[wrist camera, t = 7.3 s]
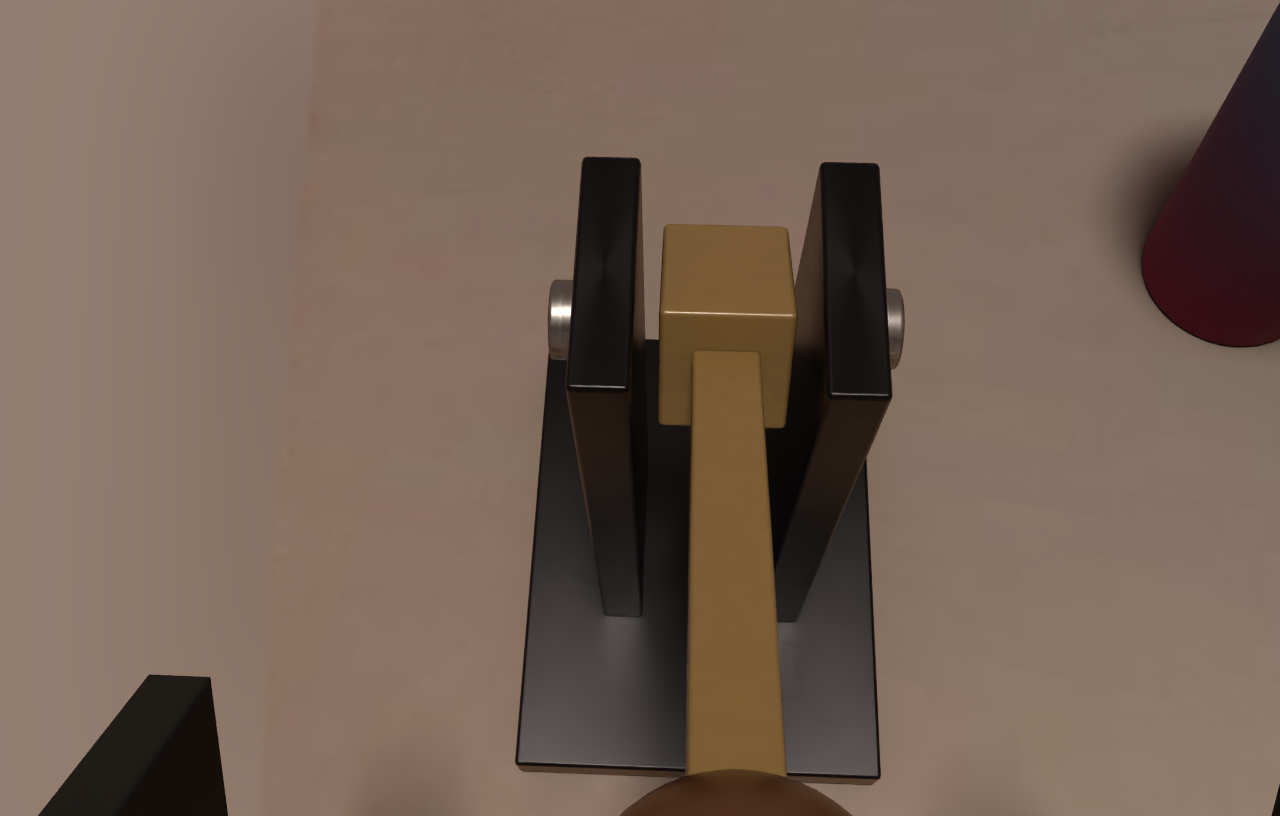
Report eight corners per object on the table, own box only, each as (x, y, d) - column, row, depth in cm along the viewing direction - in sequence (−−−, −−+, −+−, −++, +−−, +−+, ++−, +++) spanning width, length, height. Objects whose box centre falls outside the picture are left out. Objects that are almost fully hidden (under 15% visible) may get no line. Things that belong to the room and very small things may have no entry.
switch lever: (916, 1235, 11) (988, 1088, 9) (549, 1217, 11) (529, 1067, 9) (811, 361, 22) (831, 195, 20) (625, 356, 22) (624, 190, 20)
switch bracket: (873, 785, 29) (1055, 653, 16) (519, 771, 30) (403, 631, 16) (855, 363, 34) (981, -9, 21) (553, 354, 35) (485, -19, 21)
